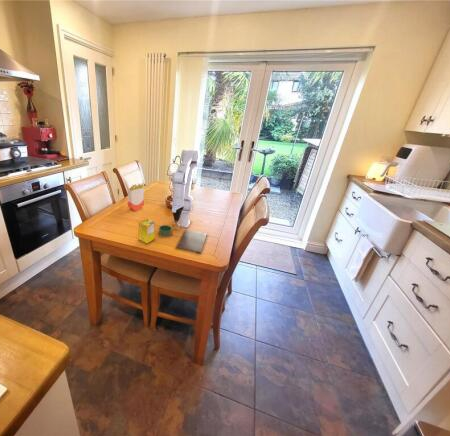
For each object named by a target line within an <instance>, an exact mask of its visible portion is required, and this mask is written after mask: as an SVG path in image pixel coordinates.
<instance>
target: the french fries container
mask: <svg viewBox="0 0 450 436" xmlns="http://www.w3.org/2000/svg"><path fill="white" fill-rule="evenodd" d="M144 205H145V187H144V183H138V184H132V185H131V186H130V187H129V189H128V191H127V208H129V209H131V210H132V211H138V210H141V209H142V208H143V207H144Z"/></svg>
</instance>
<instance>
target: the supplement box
mask: <svg viewBox="0 0 450 436" xmlns="http://www.w3.org/2000/svg"><path fill="white" fill-rule="evenodd" d="M155 223H156V222H155V221H153V220H151V219H149V218H144V219H142V220H141V221H138V237H139V238H138V240H139V241H140V242H143V243H145V244H147V245H148V244H150V243H151V242H153V241H154V240H155V229H156V228H155V226H156V224H155Z"/></svg>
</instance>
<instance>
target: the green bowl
mask: <svg viewBox="0 0 450 436" xmlns="http://www.w3.org/2000/svg"><path fill="white" fill-rule="evenodd" d="M172 230H173V227H171V226H170V225H168V224H167V225H166V224H163V225H160V226H159V227H158V235H159V236H160V237H164V238H167V237H170V236H172Z"/></svg>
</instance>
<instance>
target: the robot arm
mask: <svg viewBox="0 0 450 436" xmlns="http://www.w3.org/2000/svg"><path fill="white" fill-rule="evenodd" d="M200 157H201V151H200V150H195V149H185V148H183V149H182V150H181V154H180V159H181V163H179V165H178V167H177V169H176V171H175V172H173V173H172V177H171V182H172V201H171V202H169V205H171V208H170V211H171V213H172V216H173V219H174V222H175V221H178V220H179V221H178V223H180V226H179V227H181V228H189V226H190V224H191V220H190V216H191V212H192V211H193V207H194V198H193V197H192V195H191V194H190V193H191V188H192V183H193V182H192V181H193V177H194V172H195V168H197V167H198V166H199V164H200Z"/></svg>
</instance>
